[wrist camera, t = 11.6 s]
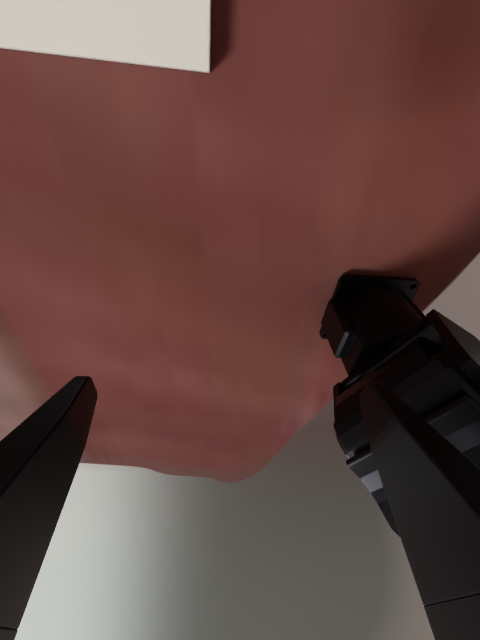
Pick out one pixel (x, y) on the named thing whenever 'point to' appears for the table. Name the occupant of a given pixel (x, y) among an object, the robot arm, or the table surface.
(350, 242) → the table surface
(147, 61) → the nut plate
